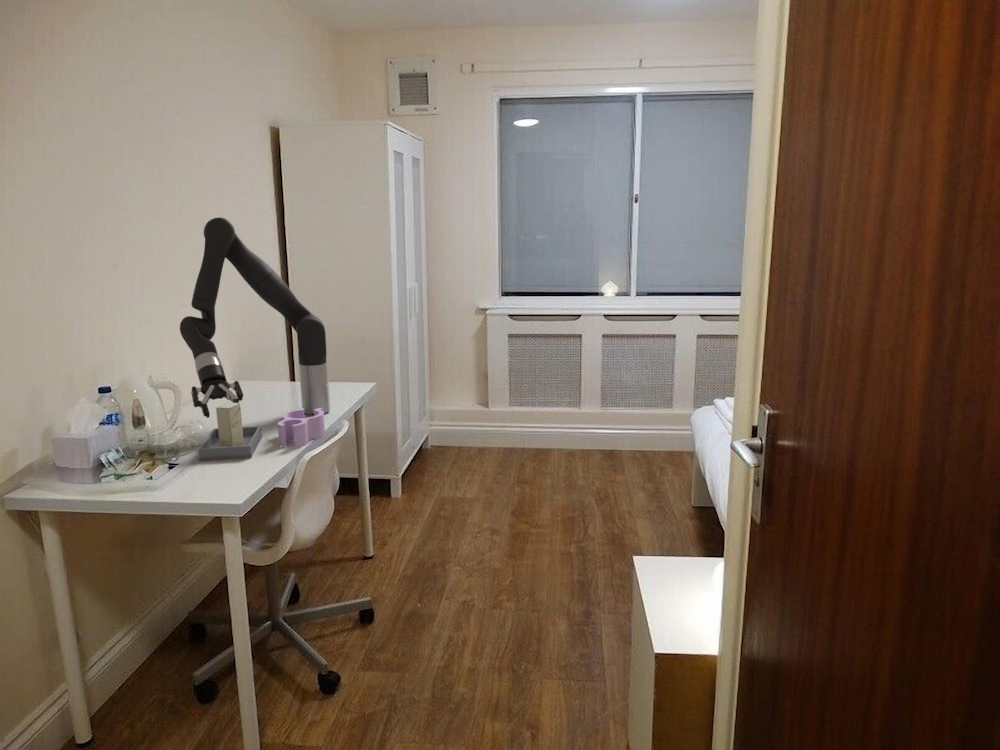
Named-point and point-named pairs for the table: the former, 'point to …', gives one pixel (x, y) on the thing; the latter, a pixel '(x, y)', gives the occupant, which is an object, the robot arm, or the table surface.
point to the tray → (244, 450)
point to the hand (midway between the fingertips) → (223, 414)
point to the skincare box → (229, 424)
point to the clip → (301, 427)
